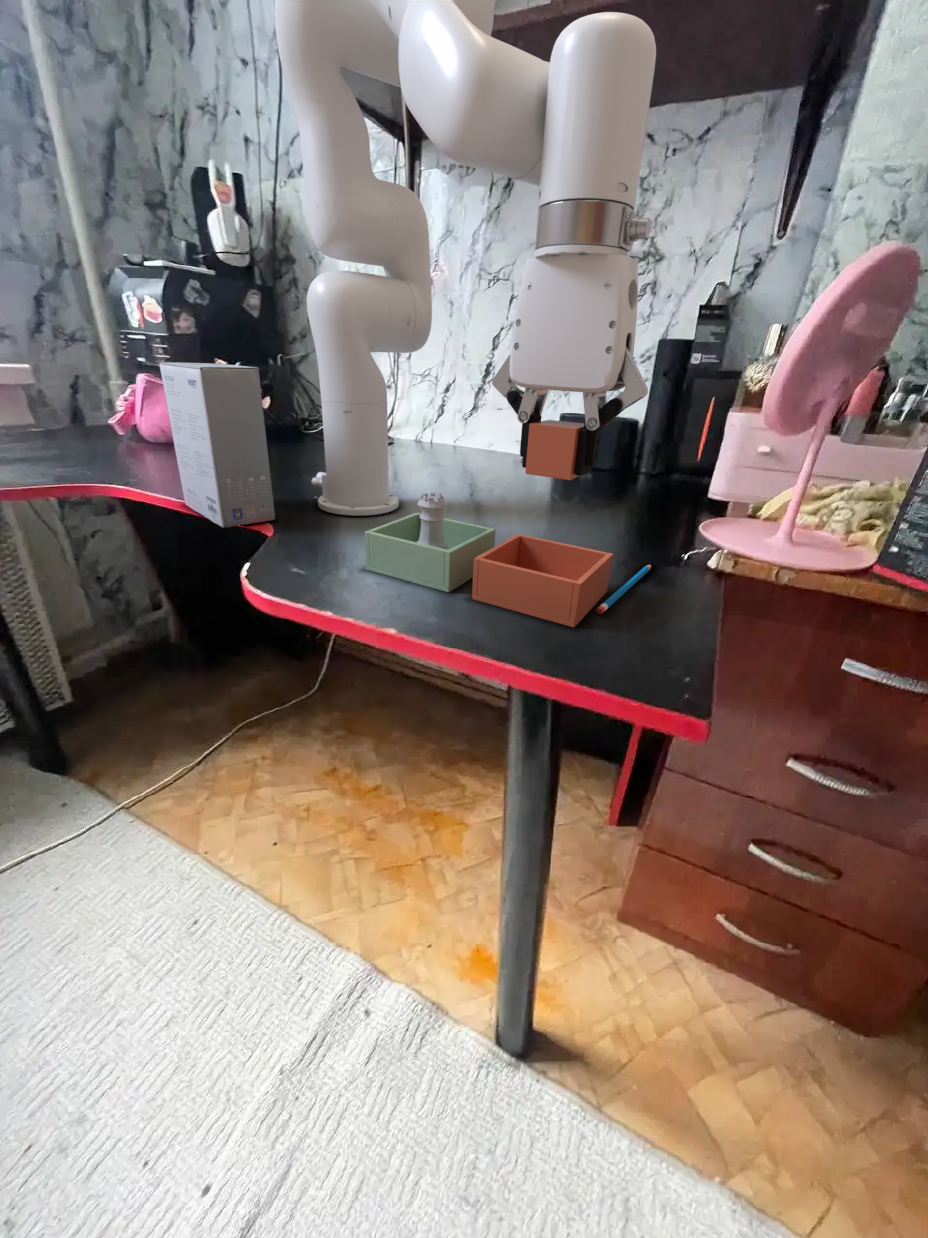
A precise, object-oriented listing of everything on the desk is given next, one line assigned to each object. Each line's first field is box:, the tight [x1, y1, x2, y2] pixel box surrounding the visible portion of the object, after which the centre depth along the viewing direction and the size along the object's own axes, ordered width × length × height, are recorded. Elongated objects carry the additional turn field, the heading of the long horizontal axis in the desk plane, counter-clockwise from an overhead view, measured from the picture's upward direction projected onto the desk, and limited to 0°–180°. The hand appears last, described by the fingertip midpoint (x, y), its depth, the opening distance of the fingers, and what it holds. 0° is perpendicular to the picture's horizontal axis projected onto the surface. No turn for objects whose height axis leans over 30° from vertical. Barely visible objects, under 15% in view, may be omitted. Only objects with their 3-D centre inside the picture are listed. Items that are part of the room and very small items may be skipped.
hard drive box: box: [158, 361, 276, 529], centre depth 76 cm, size 16×8×20 cm, turn 43°
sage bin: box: [364, 512, 497, 593], centre depth 63 cm, size 11×10×4 cm
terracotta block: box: [524, 419, 585, 481], centre depth 51 cm, size 4×4×4 cm
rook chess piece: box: [417, 492, 449, 550], centre depth 62 cm, size 4×4×8 cm
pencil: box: [595, 564, 652, 615], centre depth 61 cm, size 1×17×1 cm, turn 146°
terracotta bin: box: [471, 533, 614, 628], centre depth 57 cm, size 11×10×4 cm
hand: (556, 467), depth 52 cm, fingers closed on terracotta block, 4 cm apart
